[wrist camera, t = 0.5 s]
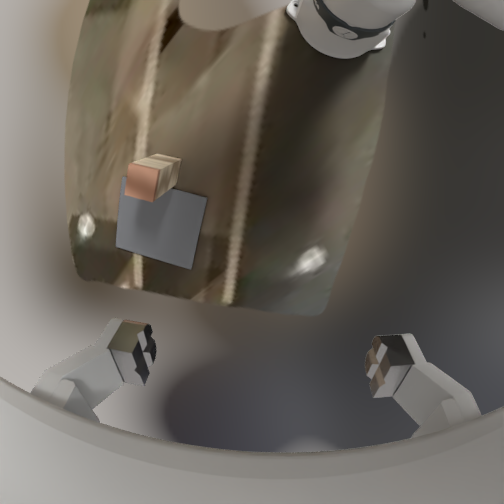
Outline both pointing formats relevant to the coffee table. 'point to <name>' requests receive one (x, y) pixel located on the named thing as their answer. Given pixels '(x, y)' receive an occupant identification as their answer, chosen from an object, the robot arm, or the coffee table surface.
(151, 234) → the rubber mat
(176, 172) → the birch block
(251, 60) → the coffee table surface
